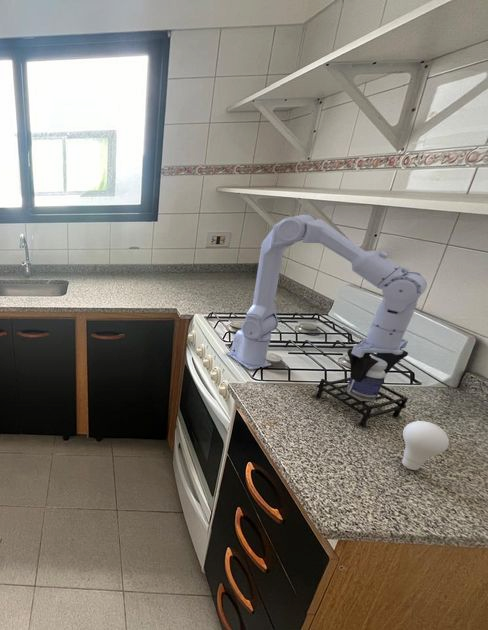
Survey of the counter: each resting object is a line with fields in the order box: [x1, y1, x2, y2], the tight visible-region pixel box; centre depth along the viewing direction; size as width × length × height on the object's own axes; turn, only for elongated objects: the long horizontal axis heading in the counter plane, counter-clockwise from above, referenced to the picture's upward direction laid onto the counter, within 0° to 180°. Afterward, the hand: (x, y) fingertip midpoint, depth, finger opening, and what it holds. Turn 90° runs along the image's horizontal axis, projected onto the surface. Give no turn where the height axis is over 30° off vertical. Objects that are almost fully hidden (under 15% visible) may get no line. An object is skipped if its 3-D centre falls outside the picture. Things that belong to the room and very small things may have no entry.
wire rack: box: [315, 377, 409, 428], centre depth 85 cm, size 13×12×6 cm
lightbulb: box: [401, 420, 450, 471], centre depth 67 cm, size 6×6×11 cm
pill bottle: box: [346, 355, 387, 402], centre depth 83 cm, size 6×6×10 cm
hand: (367, 376), depth 83 cm, fingers open, 7 cm apart
